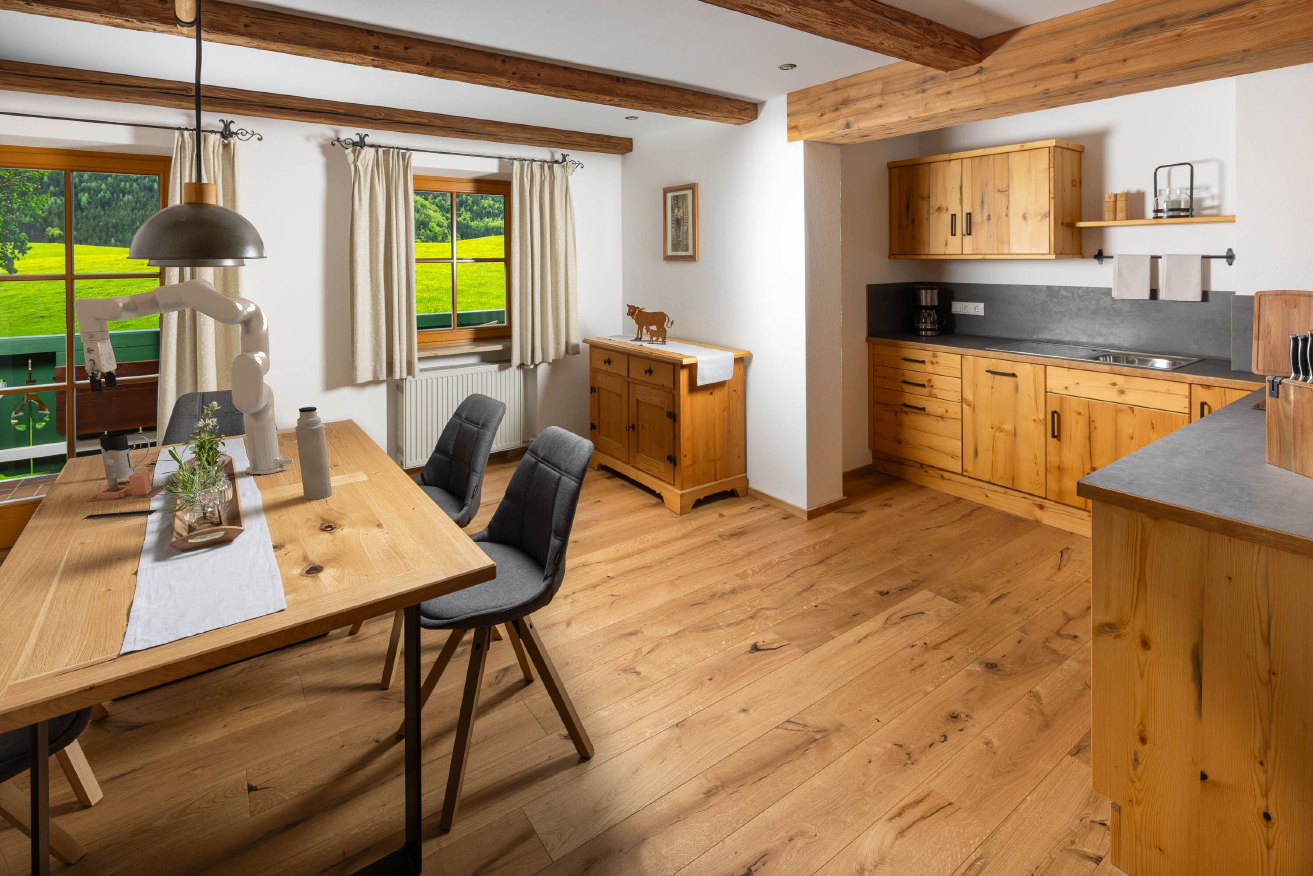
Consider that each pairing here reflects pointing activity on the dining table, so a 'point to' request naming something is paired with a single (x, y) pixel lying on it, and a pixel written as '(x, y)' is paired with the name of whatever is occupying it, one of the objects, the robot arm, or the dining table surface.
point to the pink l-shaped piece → (129, 487)
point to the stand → (114, 488)
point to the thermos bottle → (313, 455)
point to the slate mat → (120, 514)
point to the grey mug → (119, 453)
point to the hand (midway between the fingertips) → (104, 389)
